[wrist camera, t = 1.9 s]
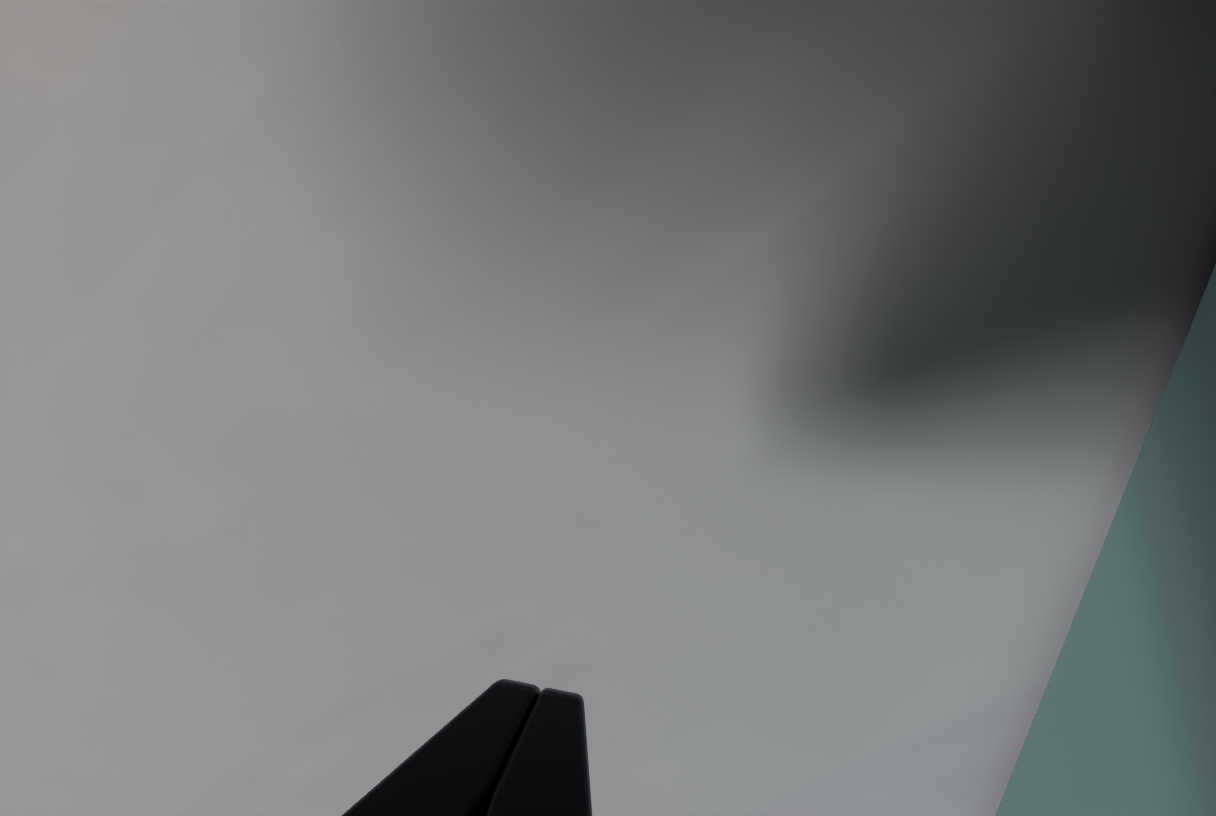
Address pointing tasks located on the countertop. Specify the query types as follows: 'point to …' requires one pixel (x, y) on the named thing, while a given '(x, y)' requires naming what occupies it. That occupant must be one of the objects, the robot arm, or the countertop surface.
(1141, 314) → the countertop surface
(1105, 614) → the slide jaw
